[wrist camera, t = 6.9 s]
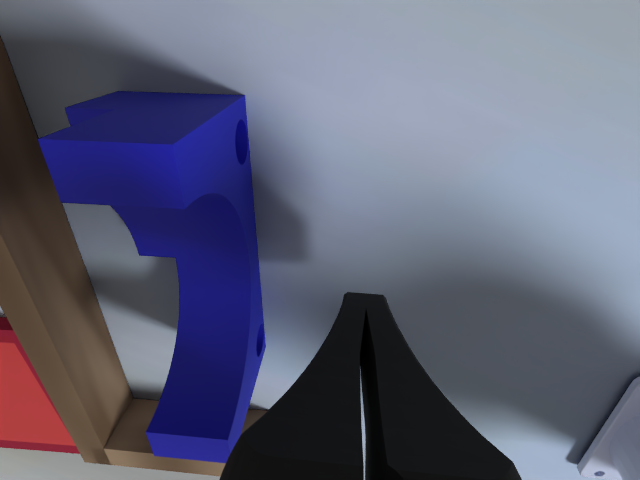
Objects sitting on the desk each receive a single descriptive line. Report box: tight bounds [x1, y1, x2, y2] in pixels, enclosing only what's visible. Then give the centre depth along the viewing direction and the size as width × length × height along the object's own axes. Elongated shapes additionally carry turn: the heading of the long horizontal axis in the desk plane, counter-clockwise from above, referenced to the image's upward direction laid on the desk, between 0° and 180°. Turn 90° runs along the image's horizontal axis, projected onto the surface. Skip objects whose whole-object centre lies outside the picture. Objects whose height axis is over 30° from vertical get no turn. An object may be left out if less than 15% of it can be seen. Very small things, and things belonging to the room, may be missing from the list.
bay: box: [0, 36, 267, 476], centre depth 15 cm, size 10×24×3 cm, turn 179°
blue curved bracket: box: [38, 91, 266, 463], centre depth 14 cm, size 12×4×6 cm, turn 179°
